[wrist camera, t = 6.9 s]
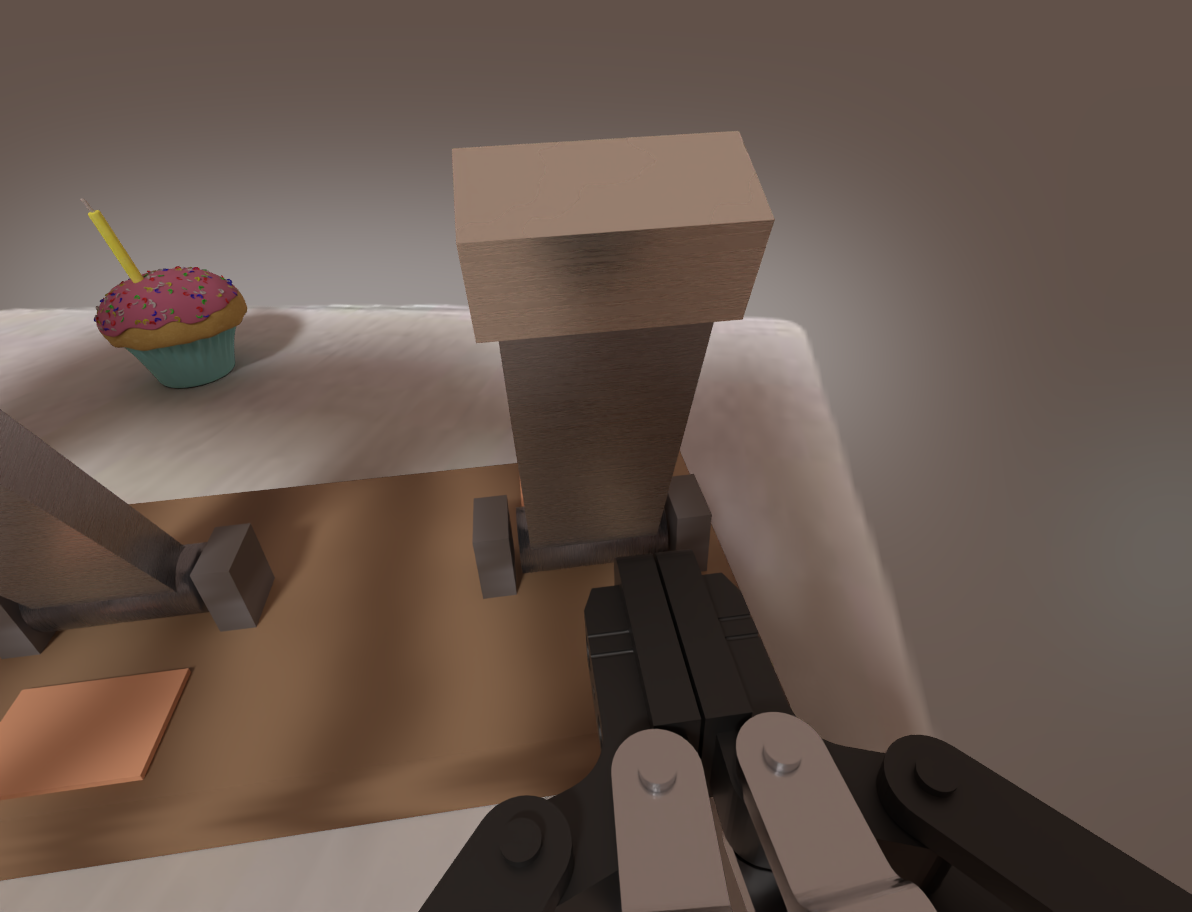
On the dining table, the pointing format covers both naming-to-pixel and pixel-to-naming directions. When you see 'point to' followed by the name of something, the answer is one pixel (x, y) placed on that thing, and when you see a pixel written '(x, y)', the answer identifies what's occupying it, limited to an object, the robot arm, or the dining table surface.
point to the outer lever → (604, 317)
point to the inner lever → (82, 545)
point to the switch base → (311, 674)
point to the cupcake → (171, 318)
